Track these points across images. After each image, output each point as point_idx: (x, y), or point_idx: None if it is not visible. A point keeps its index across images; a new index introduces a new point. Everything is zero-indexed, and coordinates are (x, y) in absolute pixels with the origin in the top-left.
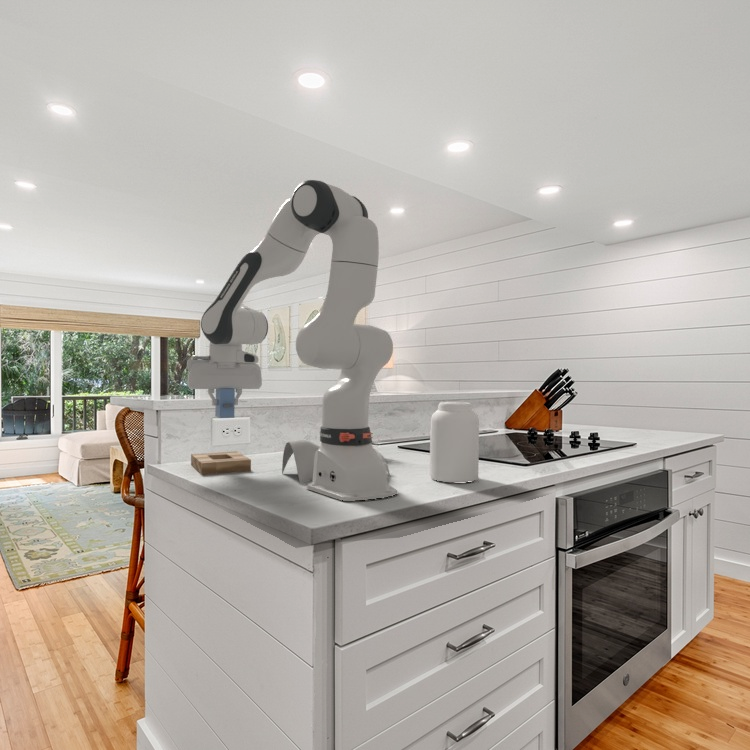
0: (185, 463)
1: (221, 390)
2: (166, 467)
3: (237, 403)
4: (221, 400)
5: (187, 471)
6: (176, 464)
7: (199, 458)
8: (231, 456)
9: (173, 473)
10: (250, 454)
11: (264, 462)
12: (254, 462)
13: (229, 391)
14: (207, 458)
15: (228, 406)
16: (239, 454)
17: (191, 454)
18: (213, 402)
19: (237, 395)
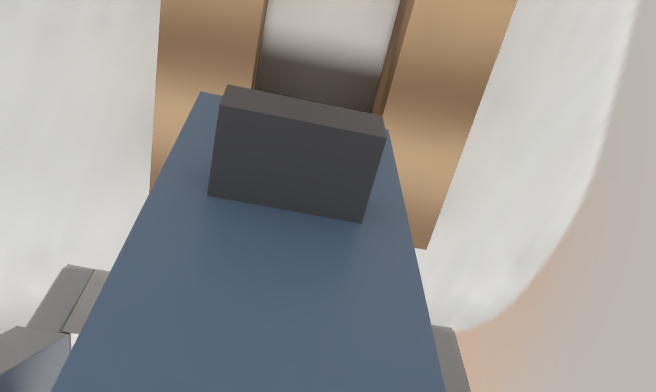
0: (423, 258)
1: None
2: (552, 212)
3: (67, 270)
4: (392, 264)
5: (536, 39)
6: (472, 257)
7: (467, 80)
8: (254, 28)
9: (628, 29)
10: (24, 309)
11: (8, 37)
12: (71, 76)
13: (212, 379)
14: (426, 50)
15: (305, 105)
16: (173, 75)
17: (429, 240)
18: (454, 351)
19: (2, 389)
